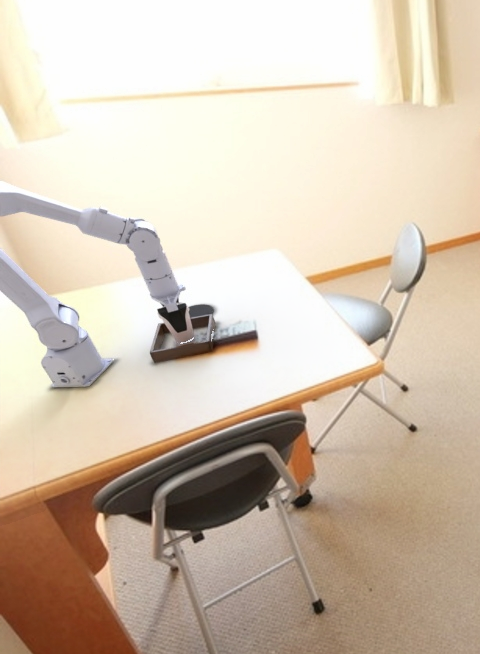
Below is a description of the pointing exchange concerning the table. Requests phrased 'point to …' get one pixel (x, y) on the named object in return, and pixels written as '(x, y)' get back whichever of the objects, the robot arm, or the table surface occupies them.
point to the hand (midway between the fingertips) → (179, 323)
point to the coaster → (200, 310)
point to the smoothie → (183, 335)
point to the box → (183, 350)
